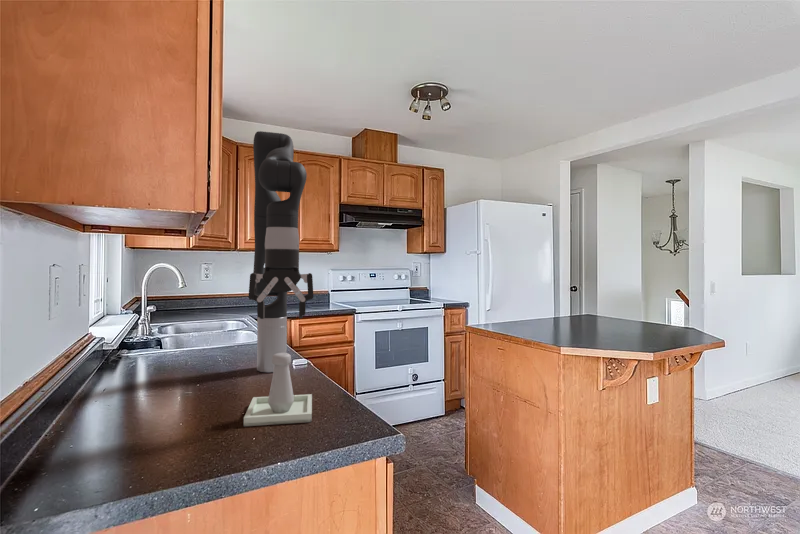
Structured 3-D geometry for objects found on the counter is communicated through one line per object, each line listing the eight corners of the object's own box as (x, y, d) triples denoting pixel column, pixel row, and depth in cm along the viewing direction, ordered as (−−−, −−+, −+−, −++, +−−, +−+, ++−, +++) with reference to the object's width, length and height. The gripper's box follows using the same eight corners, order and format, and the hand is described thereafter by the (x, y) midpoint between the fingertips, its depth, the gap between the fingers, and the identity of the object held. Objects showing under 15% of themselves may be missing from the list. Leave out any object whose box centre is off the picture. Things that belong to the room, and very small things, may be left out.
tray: (253, 404, 101) (253, 397, 101) (311, 401, 104) (311, 394, 104) (243, 426, 87) (243, 417, 87) (311, 421, 90) (311, 413, 90)
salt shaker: (286, 415, 92) (287, 357, 92) (263, 413, 93) (263, 355, 93) (298, 406, 98) (298, 351, 98) (275, 404, 99) (276, 350, 99)
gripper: (313, 249, 100) (313, 315, 100) (252, 247, 97) (251, 316, 98) (313, 247, 93) (313, 319, 93) (247, 246, 90) (246, 321, 90)
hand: (281, 318), depth 95 cm, fingers open, 8 cm apart
